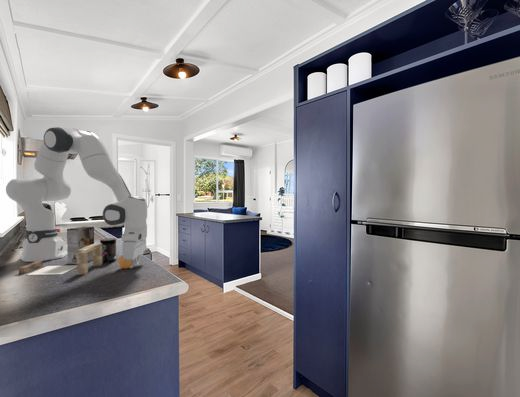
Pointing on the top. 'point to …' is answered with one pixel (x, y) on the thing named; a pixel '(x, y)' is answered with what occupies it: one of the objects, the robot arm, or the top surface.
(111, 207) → the robot arm
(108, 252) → the supplement container
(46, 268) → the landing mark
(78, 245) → the coffee box
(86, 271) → the bridge
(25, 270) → the stopper
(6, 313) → the top surface
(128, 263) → the ball
